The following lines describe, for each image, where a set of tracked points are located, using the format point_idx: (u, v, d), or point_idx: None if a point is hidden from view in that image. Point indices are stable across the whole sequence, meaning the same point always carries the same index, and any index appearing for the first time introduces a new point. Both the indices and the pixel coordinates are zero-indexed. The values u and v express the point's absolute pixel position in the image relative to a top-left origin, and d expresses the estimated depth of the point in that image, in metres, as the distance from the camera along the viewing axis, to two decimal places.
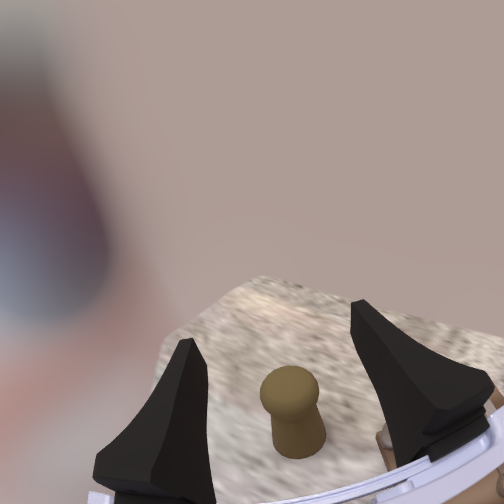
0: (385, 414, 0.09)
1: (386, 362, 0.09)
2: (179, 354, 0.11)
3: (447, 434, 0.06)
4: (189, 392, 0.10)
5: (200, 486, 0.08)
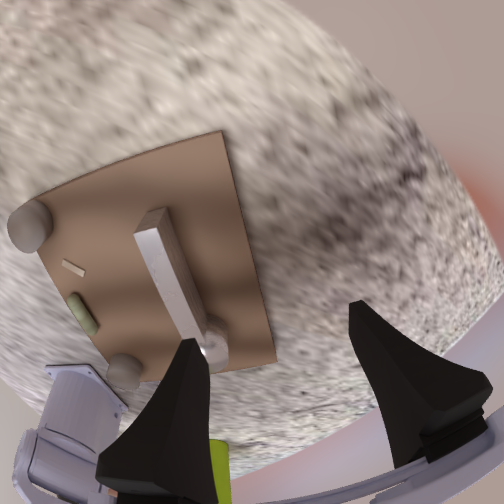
0: (383, 415, 0.09)
1: (384, 363, 0.09)
2: (181, 354, 0.11)
3: (445, 435, 0.06)
4: (191, 392, 0.10)
5: (202, 486, 0.08)
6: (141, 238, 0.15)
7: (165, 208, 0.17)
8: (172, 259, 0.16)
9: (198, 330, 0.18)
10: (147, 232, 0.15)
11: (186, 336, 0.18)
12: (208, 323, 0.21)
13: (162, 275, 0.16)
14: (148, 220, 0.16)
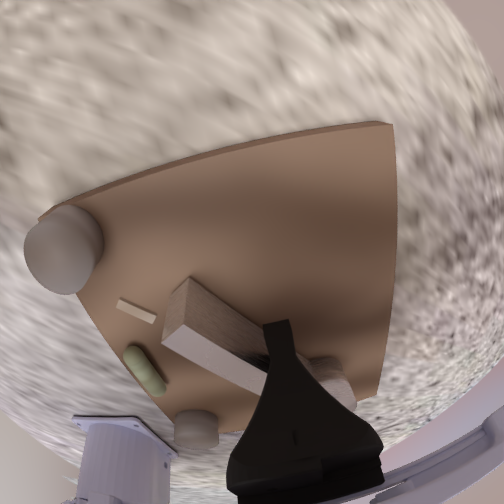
0: None
1: None
2: (282, 335, 0.11)
3: (324, 481, 0.06)
4: None
5: None
6: (174, 343, 0.10)
7: (188, 280, 0.12)
8: (230, 343, 0.11)
9: None
10: (177, 333, 0.10)
11: None
12: (316, 372, 0.15)
13: (229, 368, 0.11)
14: (173, 311, 0.11)
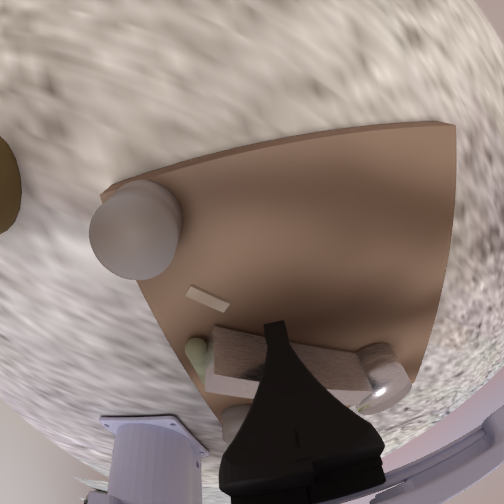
0: None
1: None
2: (277, 336, 0.11)
3: (326, 481, 0.06)
4: None
5: None
6: (215, 388, 0.12)
7: (214, 328, 0.14)
8: None
9: (354, 391, 0.13)
10: (213, 381, 0.11)
11: (350, 402, 0.14)
12: (364, 363, 0.15)
13: None
14: (208, 360, 0.13)
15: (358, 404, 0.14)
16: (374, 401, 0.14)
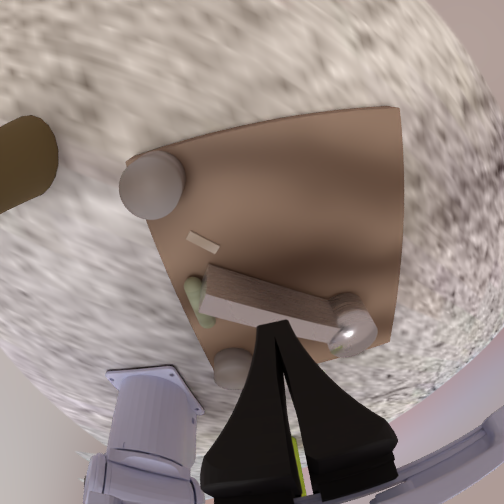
0: None
1: (291, 389, 0.09)
2: (264, 339, 0.11)
3: (339, 477, 0.06)
4: (279, 378, 0.10)
5: (297, 475, 0.08)
6: (206, 309, 0.16)
7: (208, 266, 0.18)
8: (246, 299, 0.16)
9: (323, 326, 0.17)
10: (205, 302, 0.15)
11: (320, 337, 0.18)
12: (334, 307, 0.19)
13: (250, 317, 0.16)
14: (202, 289, 0.17)
15: (329, 342, 0.18)
16: (343, 341, 0.18)
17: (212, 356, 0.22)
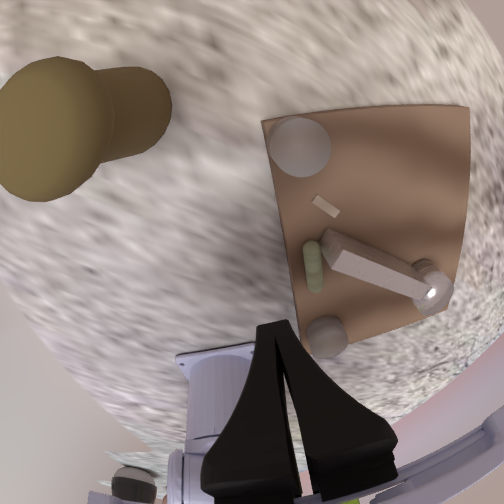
0: None
1: (291, 389, 0.09)
2: (264, 339, 0.11)
3: (339, 477, 0.06)
4: (279, 378, 0.10)
5: (297, 475, 0.08)
6: (339, 266, 0.17)
7: (328, 229, 0.19)
8: (368, 256, 0.17)
9: (420, 283, 0.18)
10: (340, 258, 0.16)
11: (416, 294, 0.19)
12: (419, 270, 0.20)
13: (372, 273, 0.17)
14: (328, 249, 0.18)
15: (420, 300, 0.19)
16: (430, 299, 0.19)
17: (305, 326, 0.23)
